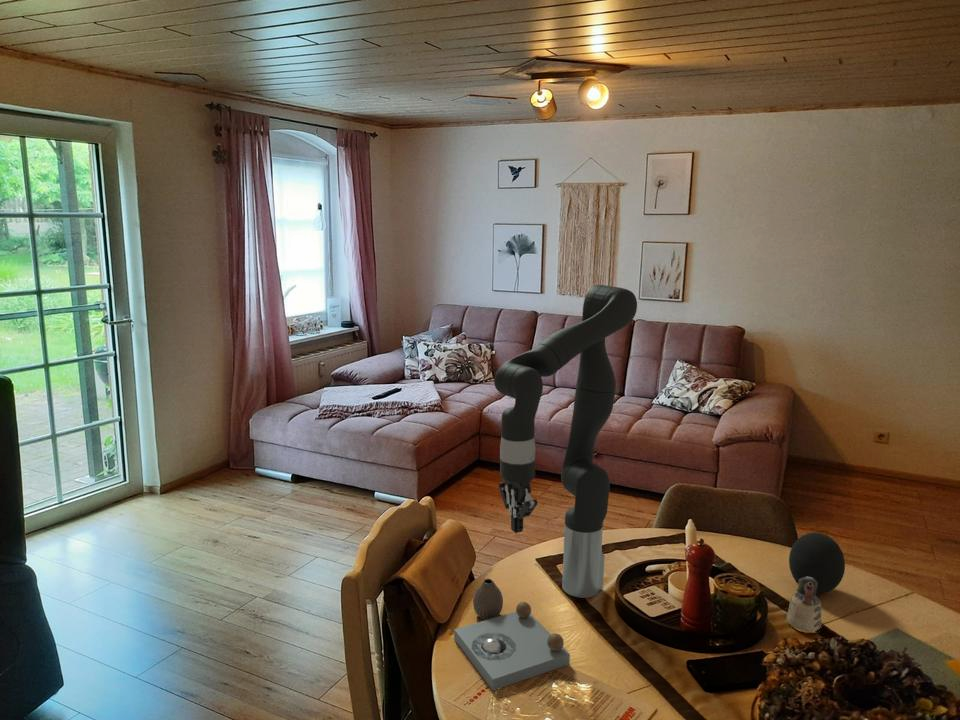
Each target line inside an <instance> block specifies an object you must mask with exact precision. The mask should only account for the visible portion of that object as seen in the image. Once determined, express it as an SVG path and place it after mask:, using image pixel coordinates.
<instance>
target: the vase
mask: <svg viewBox="0 0 960 720" xmlns="http://www.w3.org/2000/svg"><path fill="white" fill-rule="evenodd" d="M502 593H503V592H502V591H501V590H500V588H499V587H498V585H496V583H495V582H494V580H493V579H491V578H485V579H483V581H482V582H481V584H480V585H479V586H478V587H477V588H476V590H475V592H474V594H473V600H472V606H473V609H474V612H475V614H476V615H477V616H478V617H479V618H480V619H482V621H485V620H488V619H492V618H495V617H498V616H500V614H501V612H502V610H503V605H504V597H503V594H502Z"/></svg>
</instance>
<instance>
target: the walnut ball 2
mask: <svg viewBox="0 0 960 720" xmlns="http://www.w3.org/2000/svg"><path fill="white" fill-rule="evenodd" d="M550 634H551V635H550V636H549V637H548V640H547V644H548V647H549V648H550V649H551V650H553V651H559V650H560V649H561V648H562V647H564V643H565V641H564V638H563V637H562V635H561V634H559V633H556V632H555V633H550Z"/></svg>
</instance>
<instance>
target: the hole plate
mask: <svg viewBox="0 0 960 720" xmlns="http://www.w3.org/2000/svg"><path fill="white" fill-rule="evenodd" d="M551 634H552V633H550V632H549V631H548V630H547V628H545V627H544V625H542V624H541V623H540V622H539V621H538V620H537V619H536V618H535V617H534V616H533V615H532V614H530V615H529V616H528V617H526V618H521V617H520V616H518V614H517V612H516V611H512V612H509V613H506V614H503V615H498V616H497V617H495V618H492V619H488V620H482V621H478V622H474V623H471V624H467V625H464V626H461V627H458V628H454V629H453V640H454V641H455V643H456V644H457V645H458V646H459V648H460V649H461V651H462V652H463V653H464V654H465V656H466V658H467V659H468V660H469V662H471V664H472V665H473V667H474V669H476V670H477V672H478V673H479V675H480V676H481V677H482V679H483V680H484V681H485V682H486V685H488V687H489V688H490V689H491V690H492V691H495V690H494V689H496V690H498V689H497V688H499V689H501V687H502V688H504V687H508V686H511V685H513V683H514V684H516V683H519V682H523V681H525V680H527V679H531V678H533V677H537V676H539V675H542V674H545V673H548V672H551V671H554V670H557V669H559V668H564V667H566V666H568V665H570V660H571V659H570V658H571V654H570V652H569V651H568V650H567V649H566V648H565V647H564V646H563V647H562V648H561V649H560V650H559V651H553V650H551V649H550V648H549V647H548V644H547V640H548V637H549V636H550V635H551ZM488 638H495V639H497V640H498V641H499V643H500V645H501V652H500V654H489V653H486V652H484V651H483V649H482V645H483V642H484V641H485V640H486V639H488Z"/></svg>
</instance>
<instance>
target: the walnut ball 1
mask: <svg viewBox="0 0 960 720" xmlns="http://www.w3.org/2000/svg"><path fill="white" fill-rule="evenodd" d="M515 610H516V611H515V612H517V614H518V616H520V617H521V618H526V617H528V616H529V615H530V614H531V613H532V607H531V605H530V604H529V603H528V602H527V601H521V602H519V603H518V604H517V605H516V607H515ZM531 615H532V614H531Z"/></svg>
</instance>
